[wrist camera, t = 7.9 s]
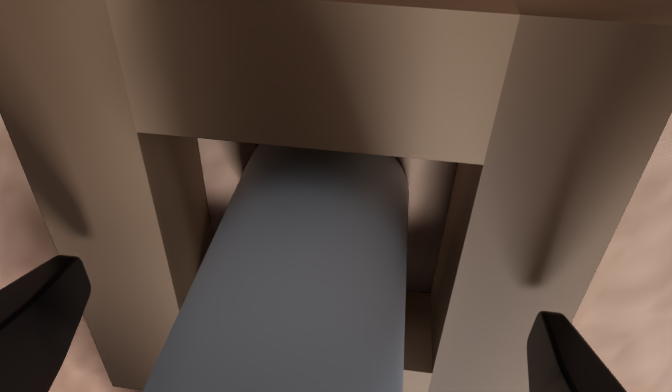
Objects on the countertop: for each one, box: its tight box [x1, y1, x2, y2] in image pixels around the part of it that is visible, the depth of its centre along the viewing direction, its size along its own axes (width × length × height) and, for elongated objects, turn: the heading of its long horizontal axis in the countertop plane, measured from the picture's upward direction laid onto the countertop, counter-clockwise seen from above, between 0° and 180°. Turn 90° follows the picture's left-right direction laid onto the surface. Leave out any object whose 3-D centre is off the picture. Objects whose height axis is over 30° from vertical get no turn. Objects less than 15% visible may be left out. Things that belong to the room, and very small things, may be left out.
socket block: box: [0, 0, 672, 392], centre depth 12 cm, size 11×11×2 cm
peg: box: [143, 144, 409, 392], centre depth 10 cm, size 4×4×7 cm
